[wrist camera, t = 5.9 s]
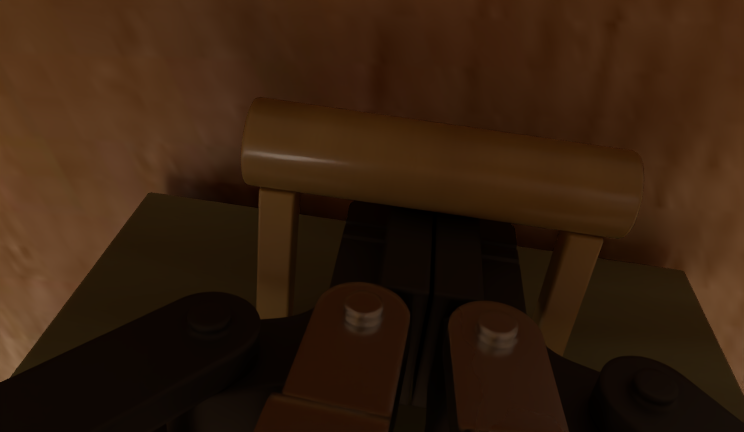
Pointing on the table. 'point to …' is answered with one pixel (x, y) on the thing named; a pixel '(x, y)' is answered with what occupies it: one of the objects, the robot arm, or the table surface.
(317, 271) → the drawer
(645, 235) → the table surface
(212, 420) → the robot arm
